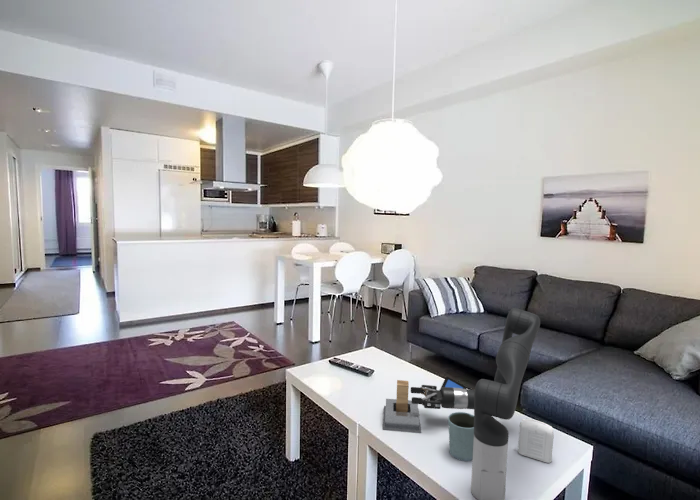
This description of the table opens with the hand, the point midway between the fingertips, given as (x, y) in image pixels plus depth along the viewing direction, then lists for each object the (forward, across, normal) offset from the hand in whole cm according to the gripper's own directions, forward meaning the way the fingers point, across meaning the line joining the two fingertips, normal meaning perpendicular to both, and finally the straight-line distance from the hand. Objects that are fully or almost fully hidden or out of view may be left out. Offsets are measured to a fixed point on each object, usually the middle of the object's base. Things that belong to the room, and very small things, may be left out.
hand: (411, 395), depth 145 cm
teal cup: (-16, +18, +11) cm, 27 cm away
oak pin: (+3, 0, +9) cm, 10 cm away
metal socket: (+3, 0, +10) cm, 11 cm away
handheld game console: (-17, -20, +11) cm, 28 cm away
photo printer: (-40, +16, +11) cm, 45 cm away
